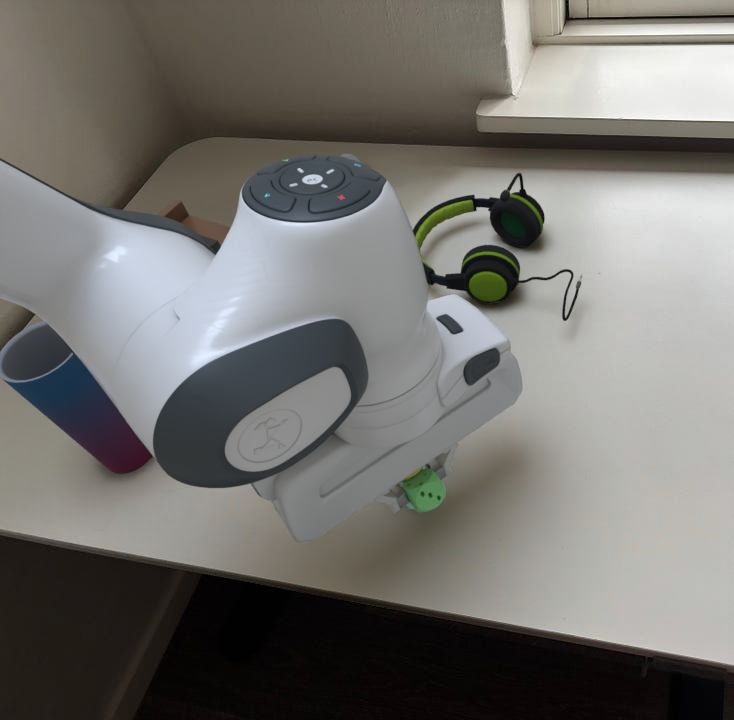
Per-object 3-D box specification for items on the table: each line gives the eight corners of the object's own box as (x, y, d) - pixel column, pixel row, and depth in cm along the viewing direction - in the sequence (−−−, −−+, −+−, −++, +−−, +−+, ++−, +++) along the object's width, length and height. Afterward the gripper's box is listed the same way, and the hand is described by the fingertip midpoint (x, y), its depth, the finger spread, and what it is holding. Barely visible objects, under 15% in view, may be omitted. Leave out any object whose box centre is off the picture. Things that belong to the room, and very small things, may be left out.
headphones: (563, 270, 63) (366, 239, 70) (567, 342, 71) (388, 307, 77) (608, 164, 73) (430, 145, 79) (607, 238, 80) (444, 214, 86)
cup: (137, 489, 66) (42, 389, 55) (80, 473, 68) (-24, 374, 57) (179, 429, 70) (98, 325, 59) (124, 416, 72) (35, 312, 61)
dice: (380, 473, 62) (359, 427, 58) (405, 456, 63) (386, 410, 59) (429, 534, 57) (411, 488, 53) (456, 515, 58) (440, 468, 54)
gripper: (261, 502, 42) (325, 596, 53) (529, 329, 49) (539, 442, 59) (219, 436, 46) (287, 536, 56) (474, 282, 52) (493, 397, 63)
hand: (418, 487), depth 58 cm, fingers closed on dice, 3 cm apart
